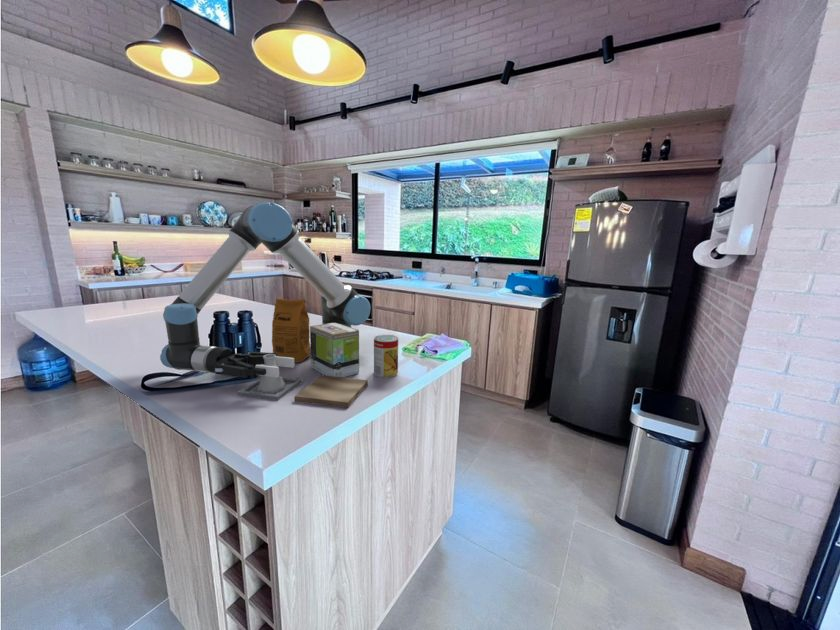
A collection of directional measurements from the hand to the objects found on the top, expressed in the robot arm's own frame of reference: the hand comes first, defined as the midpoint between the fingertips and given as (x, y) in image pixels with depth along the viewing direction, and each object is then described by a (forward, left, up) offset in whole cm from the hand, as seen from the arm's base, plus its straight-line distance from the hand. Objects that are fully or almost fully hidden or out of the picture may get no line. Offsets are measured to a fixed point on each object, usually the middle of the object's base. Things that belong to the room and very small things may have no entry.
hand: (286, 367), depth 92 cm
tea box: (-18, +6, -7) cm, 20 cm away
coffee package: (-25, -14, -7) cm, 30 cm away
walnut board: (-2, +13, -7) cm, 15 cm away
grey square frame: (0, -5, -7) cm, 9 cm away
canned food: (-20, +23, -7) cm, 31 cm away
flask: (0, -5, -7) cm, 9 cm away
